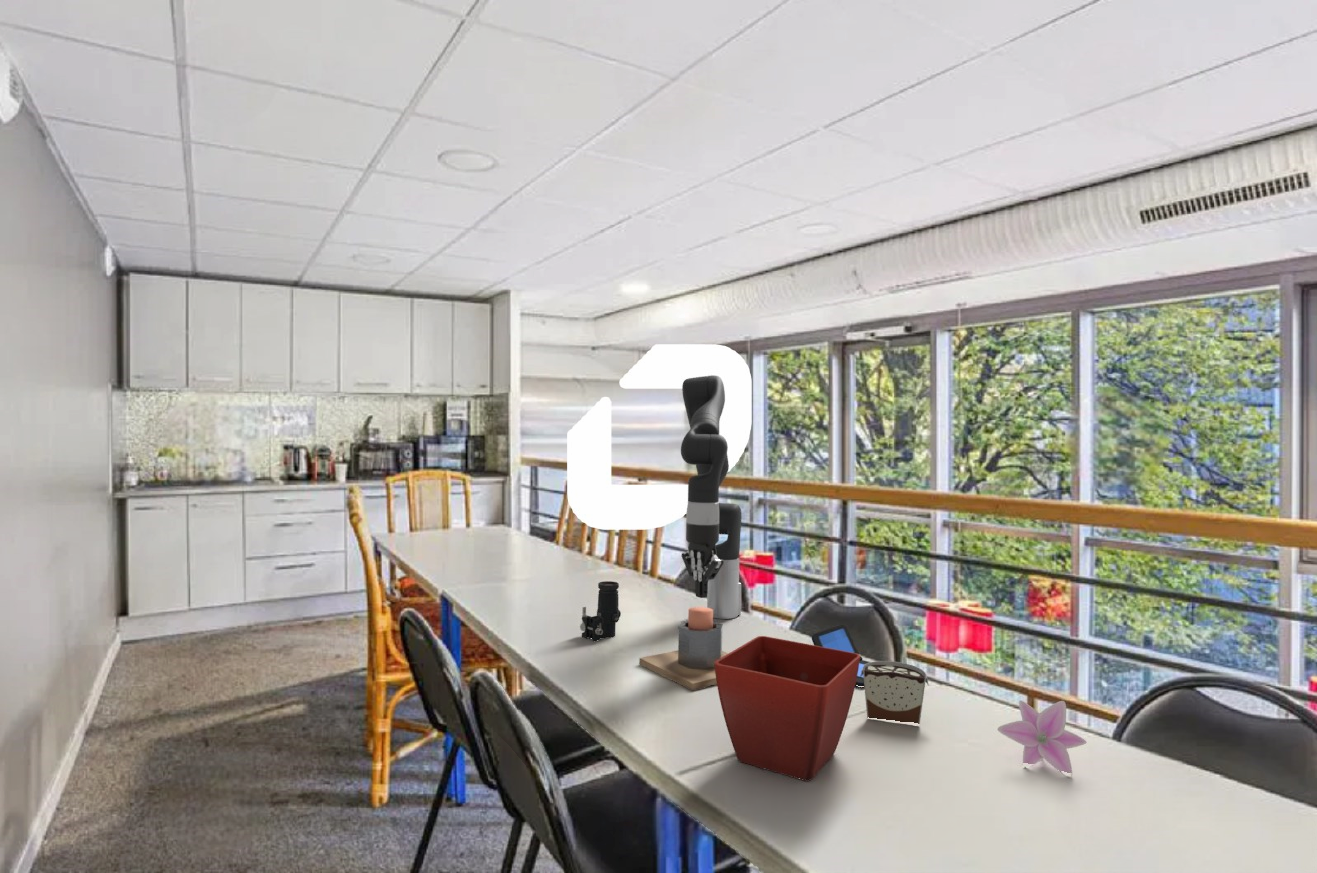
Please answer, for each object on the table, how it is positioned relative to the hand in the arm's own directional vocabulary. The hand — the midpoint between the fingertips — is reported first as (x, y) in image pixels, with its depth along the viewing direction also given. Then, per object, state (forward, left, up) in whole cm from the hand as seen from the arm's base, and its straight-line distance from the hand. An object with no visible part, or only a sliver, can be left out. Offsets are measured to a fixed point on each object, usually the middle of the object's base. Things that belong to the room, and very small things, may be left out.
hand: (701, 597), depth 165 cm
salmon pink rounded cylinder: (0, 0, -9) cm, 9 cm away
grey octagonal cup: (0, 0, -15) cm, 15 cm away
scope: (+5, -34, -17) cm, 38 cm away
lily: (-19, +68, -17) cm, 72 cm away
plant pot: (+16, +43, -17) cm, 49 cm away
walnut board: (0, 0, -17) cm, 17 cm away
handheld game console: (-28, +21, -17) cm, 39 cm away
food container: (-14, +42, -17) cm, 47 cm away
